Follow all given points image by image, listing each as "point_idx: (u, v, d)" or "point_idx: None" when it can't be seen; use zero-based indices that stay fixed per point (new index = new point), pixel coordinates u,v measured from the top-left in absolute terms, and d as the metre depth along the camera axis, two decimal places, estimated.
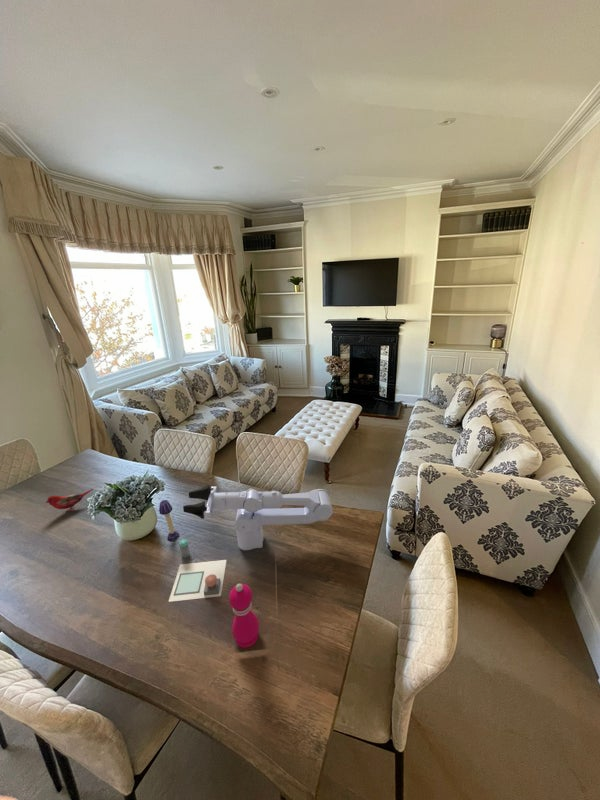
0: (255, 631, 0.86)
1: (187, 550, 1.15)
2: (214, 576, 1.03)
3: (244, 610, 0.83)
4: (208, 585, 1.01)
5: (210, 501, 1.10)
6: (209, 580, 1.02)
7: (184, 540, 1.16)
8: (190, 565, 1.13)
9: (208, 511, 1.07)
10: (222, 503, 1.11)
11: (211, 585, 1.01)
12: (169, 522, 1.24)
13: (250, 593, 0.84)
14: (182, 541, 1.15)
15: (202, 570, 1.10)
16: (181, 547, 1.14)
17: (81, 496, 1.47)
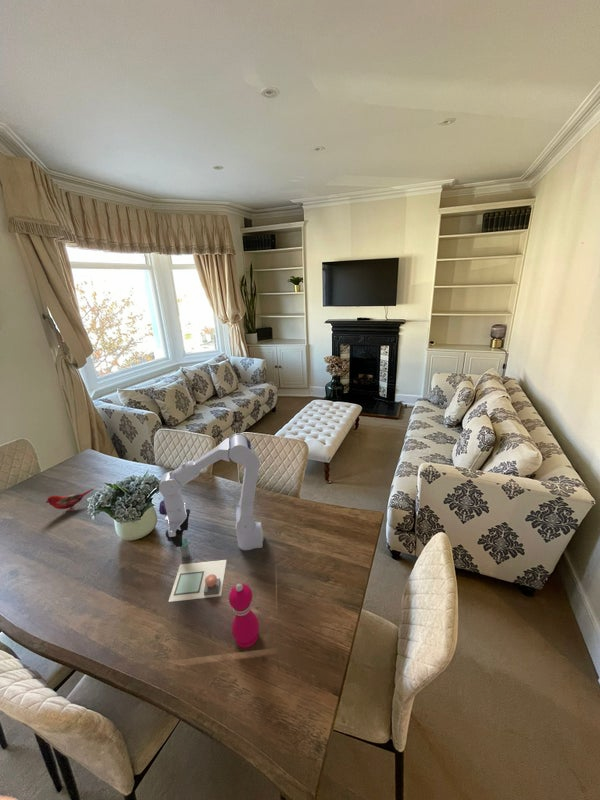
0: (255, 631, 0.86)
1: (187, 550, 1.15)
2: (214, 576, 1.03)
3: (244, 610, 0.83)
4: (208, 585, 1.01)
5: None
6: (209, 580, 1.02)
7: (184, 540, 1.16)
8: (190, 565, 1.13)
9: None
10: (170, 514, 1.07)
11: (211, 585, 1.01)
12: None
13: (250, 593, 0.84)
14: None
15: (202, 570, 1.10)
16: (181, 547, 1.14)
17: (81, 496, 1.47)
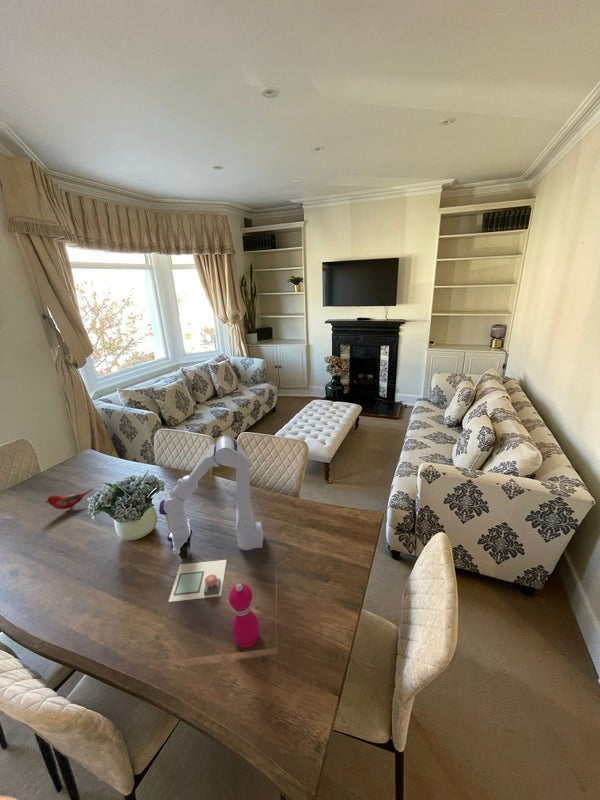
0: (255, 631, 0.86)
1: None
2: (214, 576, 1.03)
3: (244, 610, 0.83)
4: (208, 585, 1.01)
5: None
6: (209, 580, 1.02)
7: None
8: (190, 565, 1.13)
9: None
10: (174, 531, 1.10)
11: (211, 585, 1.01)
12: None
13: (250, 593, 0.84)
14: None
15: (202, 570, 1.10)
16: None
17: (81, 496, 1.47)
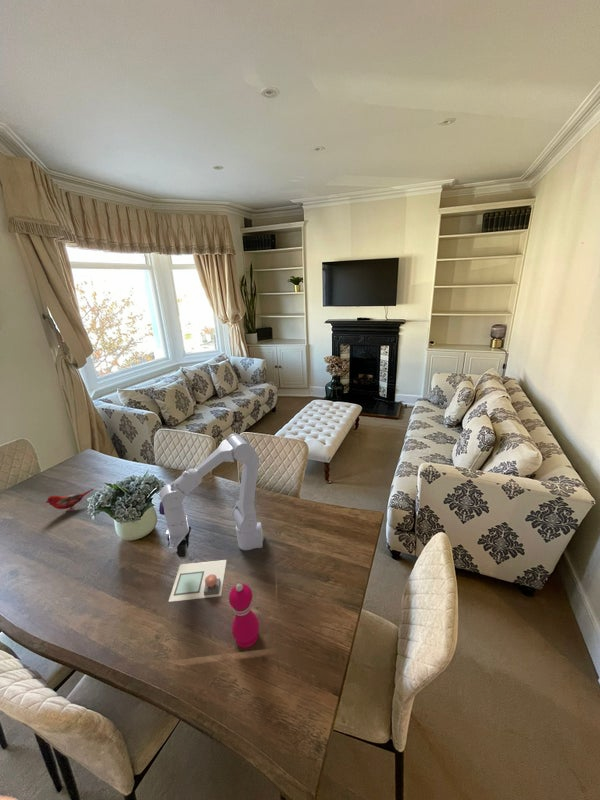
0: (255, 631, 0.86)
1: None
2: (214, 576, 1.03)
3: (244, 610, 0.83)
4: (208, 585, 1.01)
5: (169, 538, 1.02)
6: (209, 580, 1.02)
7: None
8: (190, 565, 1.13)
9: None
10: (171, 528, 1.02)
11: (211, 585, 1.01)
12: None
13: (250, 593, 0.84)
14: None
15: (202, 570, 1.10)
16: None
17: (81, 496, 1.47)
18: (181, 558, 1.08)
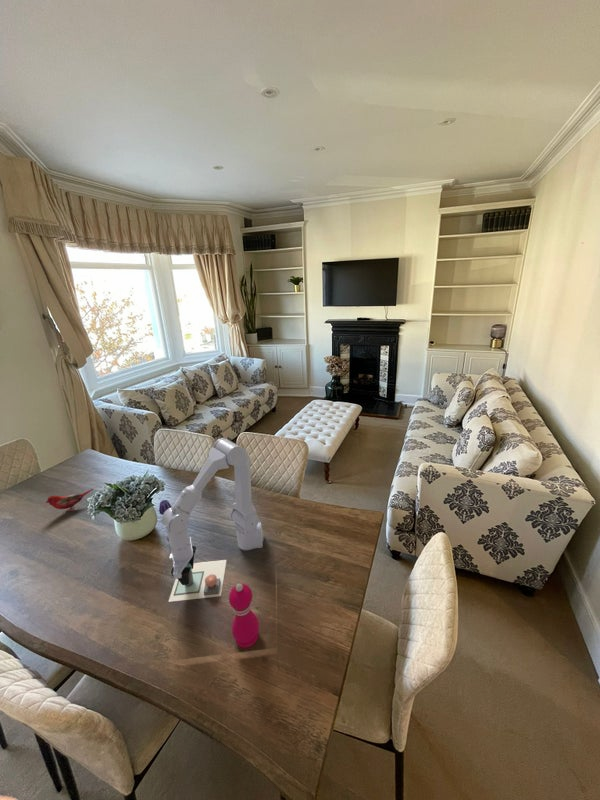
0: (255, 631, 0.86)
1: (190, 576, 1.04)
2: (214, 576, 1.03)
3: (244, 610, 0.83)
4: (208, 585, 1.01)
5: (173, 563, 0.99)
6: (209, 580, 1.02)
7: (187, 564, 1.04)
8: None
9: None
10: (175, 552, 0.98)
11: (211, 585, 1.01)
12: None
13: (250, 593, 0.84)
14: (185, 566, 1.04)
15: (202, 570, 1.10)
16: None
17: (81, 496, 1.47)
18: (186, 585, 1.05)
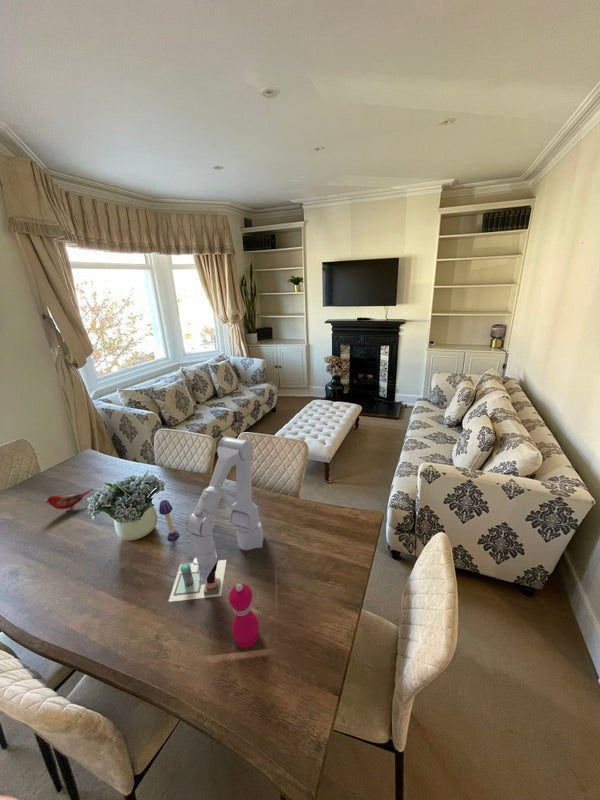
0: (255, 631, 0.86)
1: (190, 575, 1.04)
2: None
3: (244, 610, 0.83)
4: (208, 587, 1.01)
5: None
6: None
7: (186, 564, 1.04)
8: (190, 565, 1.13)
9: None
10: (200, 558, 0.96)
11: (211, 587, 1.01)
12: (169, 522, 1.24)
13: (250, 593, 0.84)
14: (184, 566, 1.04)
15: None
16: (183, 573, 1.03)
17: (81, 496, 1.47)
18: (186, 585, 1.05)
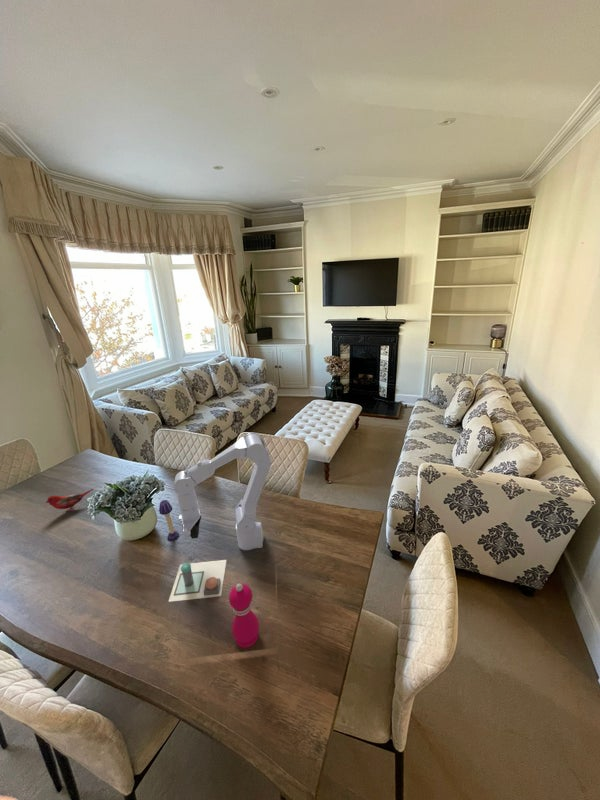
0: (255, 631, 0.86)
1: (190, 575, 1.04)
2: (215, 579, 1.04)
3: (244, 610, 0.83)
4: (209, 588, 1.01)
5: None
6: (210, 583, 1.02)
7: (186, 564, 1.04)
8: None
9: None
10: (184, 513, 1.07)
11: (212, 588, 1.01)
12: (169, 522, 1.24)
13: (250, 593, 0.84)
14: (184, 566, 1.04)
15: (202, 570, 1.10)
16: (184, 573, 1.03)
17: (81, 496, 1.47)
18: (186, 585, 1.05)
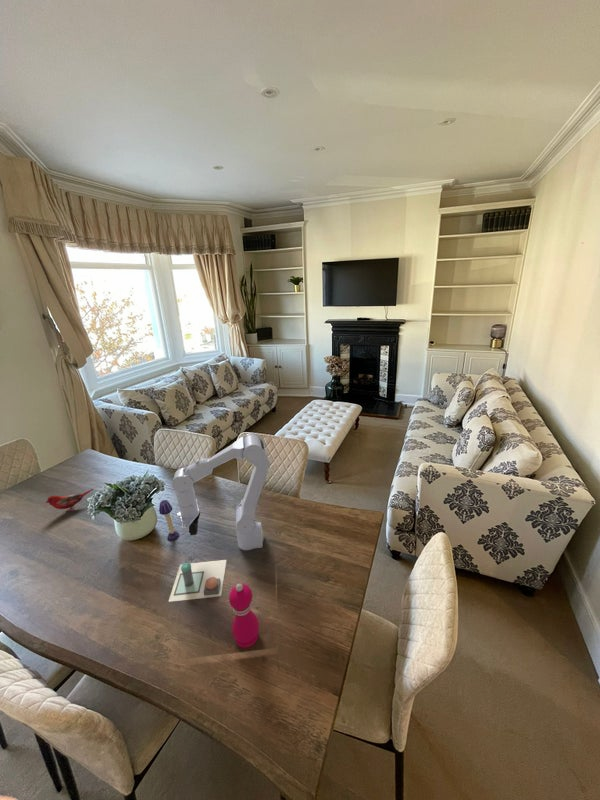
0: (255, 631, 0.86)
1: (190, 575, 1.04)
2: (215, 579, 1.04)
3: (244, 610, 0.83)
4: (209, 588, 1.01)
5: (181, 520, 1.09)
6: (210, 583, 1.02)
7: (186, 564, 1.04)
8: None
9: None
10: (183, 509, 1.08)
11: (212, 588, 1.01)
12: (169, 522, 1.24)
13: (250, 593, 0.84)
14: (184, 565, 1.04)
15: (202, 570, 1.10)
16: (184, 572, 1.03)
17: (81, 496, 1.47)
18: (186, 585, 1.05)
